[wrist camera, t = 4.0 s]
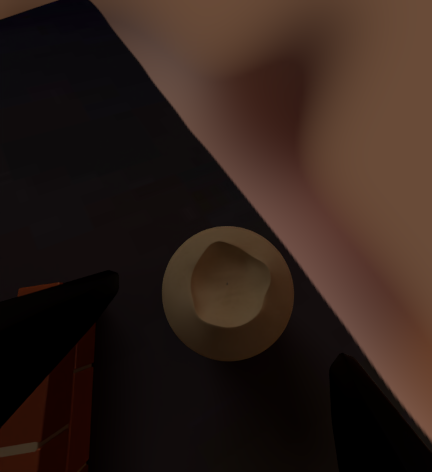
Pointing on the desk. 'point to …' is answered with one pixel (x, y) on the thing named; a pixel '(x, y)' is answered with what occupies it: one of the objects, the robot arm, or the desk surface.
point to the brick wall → (53, 415)
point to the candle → (227, 293)
